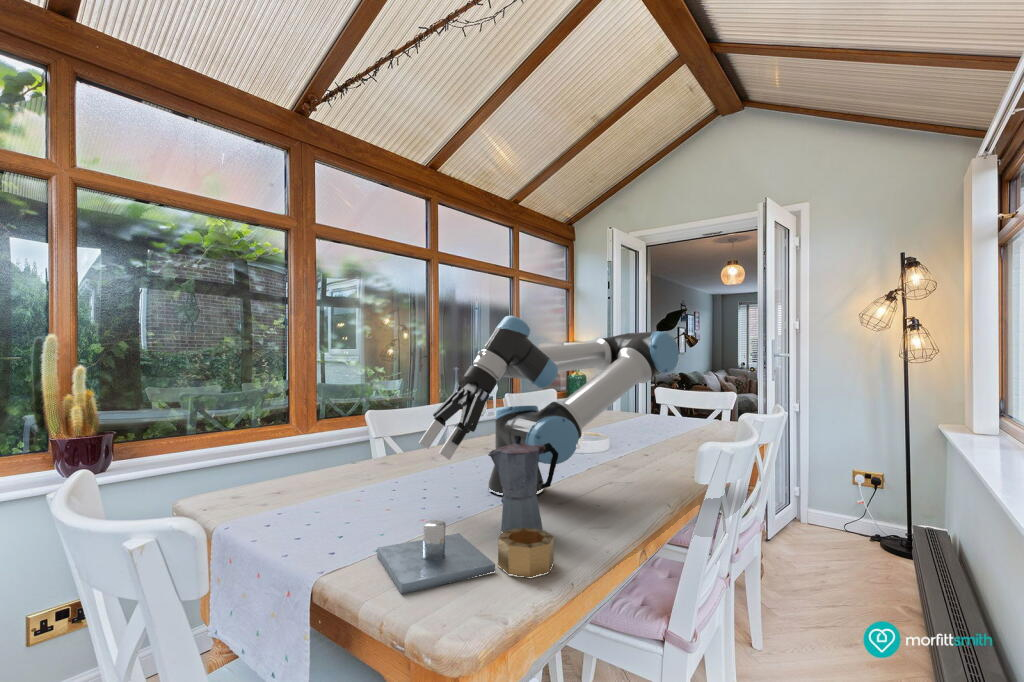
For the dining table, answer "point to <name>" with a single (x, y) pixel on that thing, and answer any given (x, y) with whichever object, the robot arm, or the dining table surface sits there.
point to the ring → (526, 551)
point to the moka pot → (521, 482)
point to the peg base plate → (433, 560)
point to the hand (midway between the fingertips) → (433, 451)
